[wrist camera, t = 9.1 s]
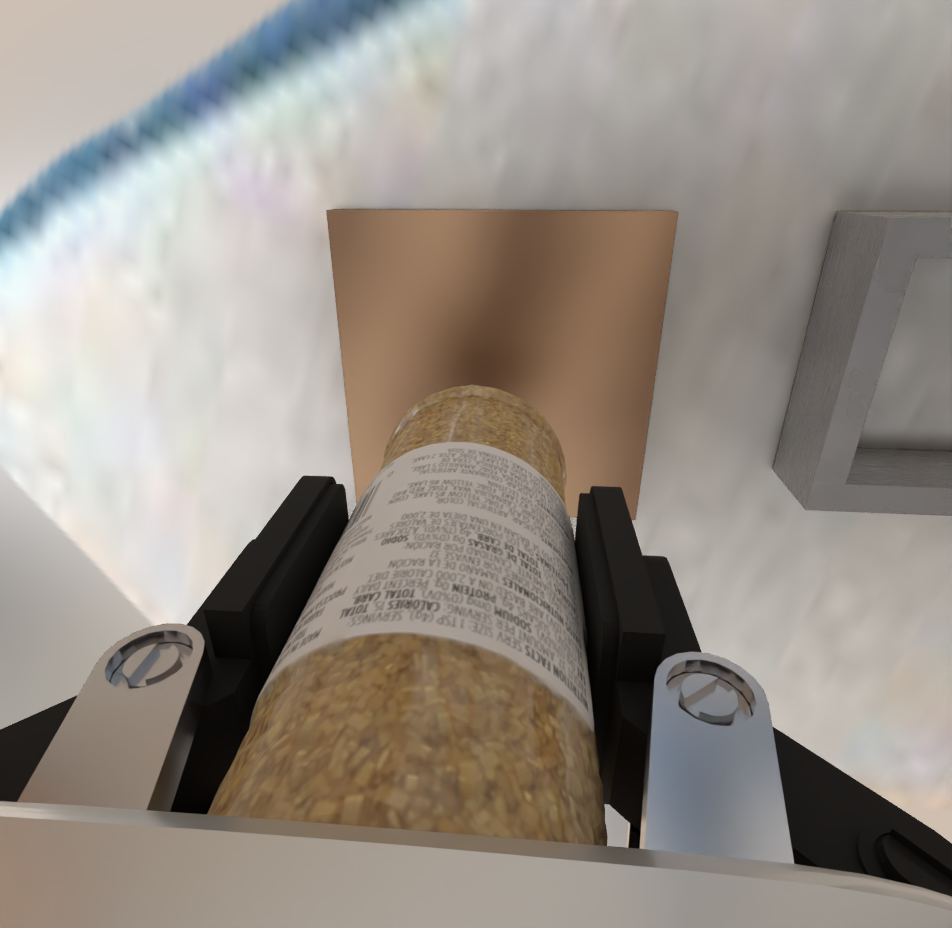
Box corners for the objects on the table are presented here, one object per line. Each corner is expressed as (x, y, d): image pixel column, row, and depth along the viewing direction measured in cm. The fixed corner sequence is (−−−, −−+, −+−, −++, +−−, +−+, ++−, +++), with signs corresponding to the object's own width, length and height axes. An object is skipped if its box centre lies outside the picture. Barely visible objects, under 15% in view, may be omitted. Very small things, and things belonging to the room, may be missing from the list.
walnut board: (672, 210, 19) (678, 212, 18) (632, 509, 24) (635, 519, 23) (334, 209, 20) (326, 210, 19) (362, 498, 24) (357, 508, 24)
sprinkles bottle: (492, 569, 16) (396, 1737, 4) (352, 477, 15) (-319, 1642, 3) (606, 450, 14) (1041, 1926, 2) (454, 337, 13) (-198, 1829, 1)
